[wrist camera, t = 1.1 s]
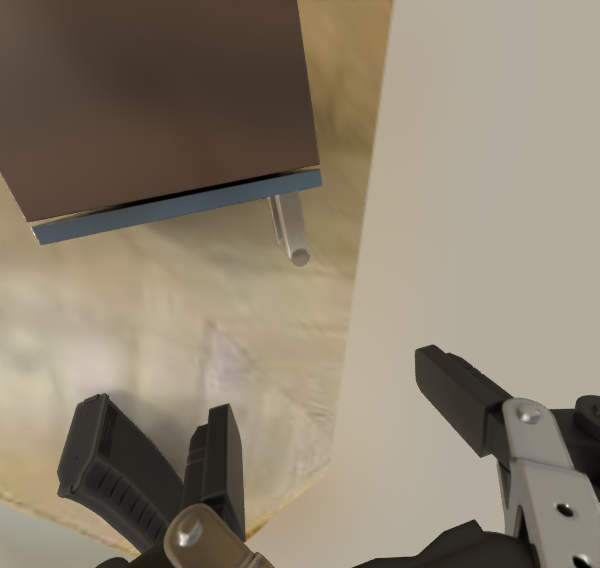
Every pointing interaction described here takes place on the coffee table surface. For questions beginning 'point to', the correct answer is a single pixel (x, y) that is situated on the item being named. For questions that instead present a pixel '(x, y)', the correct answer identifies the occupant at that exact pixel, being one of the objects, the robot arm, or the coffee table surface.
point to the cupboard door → (273, 187)
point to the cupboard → (147, 98)
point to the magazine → (118, 473)
